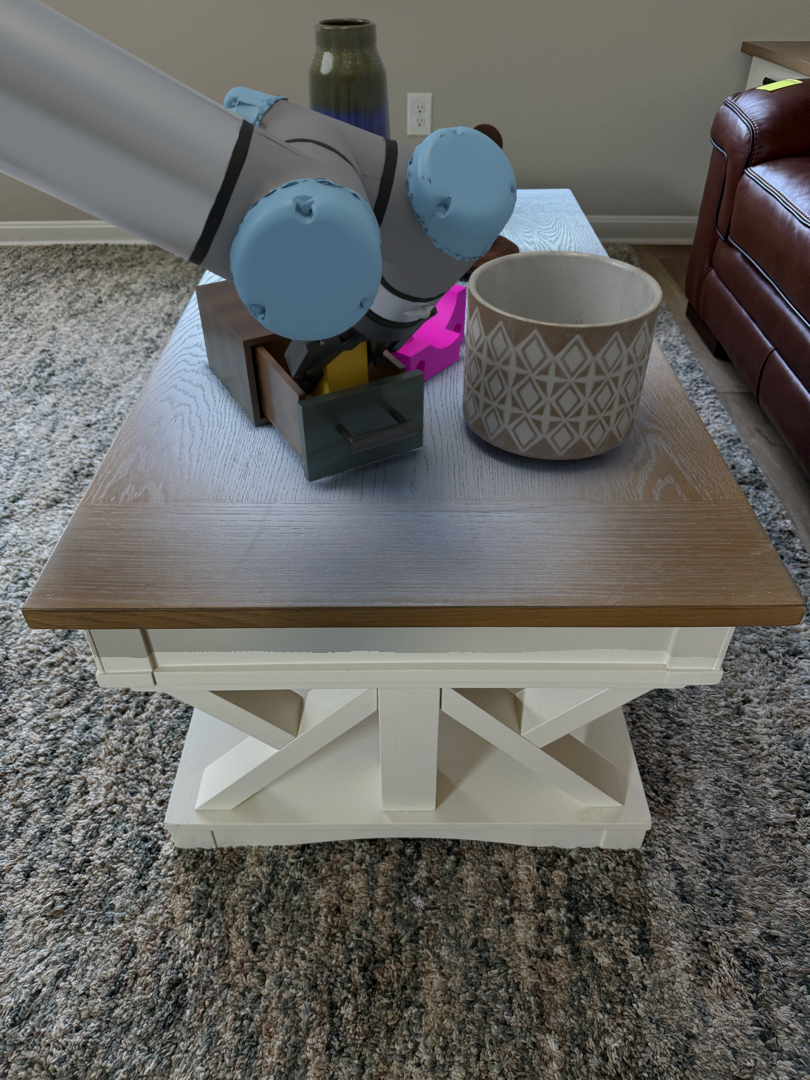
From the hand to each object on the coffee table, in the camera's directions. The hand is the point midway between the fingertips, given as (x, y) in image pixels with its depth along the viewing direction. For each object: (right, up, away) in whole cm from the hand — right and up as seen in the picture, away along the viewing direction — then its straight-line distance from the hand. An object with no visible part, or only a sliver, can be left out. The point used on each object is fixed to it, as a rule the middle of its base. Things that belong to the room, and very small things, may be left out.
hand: (324, 377), depth 86 cm
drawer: (+2, -7, 0) cm, 7 cm away
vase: (0, +37, +53) cm, 65 cm away
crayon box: (+2, -5, 0) cm, 5 cm away
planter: (+25, -5, +4) cm, 26 cm away
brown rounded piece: (+20, +27, +42) cm, 53 cm away
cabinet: (-6, +2, +12) cm, 14 cm away
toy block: (+12, +5, +16) cm, 21 cm away
